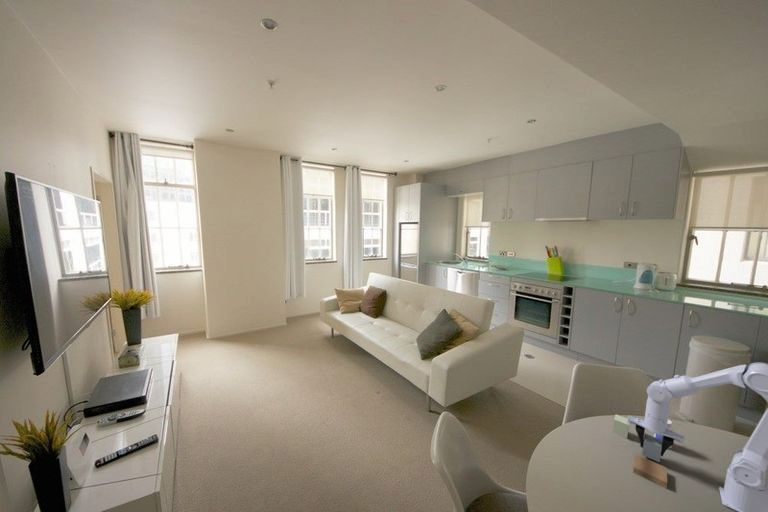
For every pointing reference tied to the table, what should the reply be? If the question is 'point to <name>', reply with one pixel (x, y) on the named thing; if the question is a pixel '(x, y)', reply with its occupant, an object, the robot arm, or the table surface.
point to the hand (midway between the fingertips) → (651, 450)
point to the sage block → (621, 426)
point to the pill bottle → (669, 426)
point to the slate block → (652, 447)
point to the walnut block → (650, 470)
